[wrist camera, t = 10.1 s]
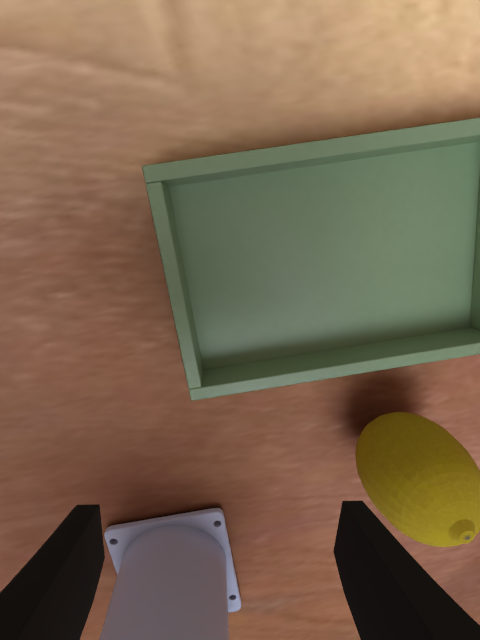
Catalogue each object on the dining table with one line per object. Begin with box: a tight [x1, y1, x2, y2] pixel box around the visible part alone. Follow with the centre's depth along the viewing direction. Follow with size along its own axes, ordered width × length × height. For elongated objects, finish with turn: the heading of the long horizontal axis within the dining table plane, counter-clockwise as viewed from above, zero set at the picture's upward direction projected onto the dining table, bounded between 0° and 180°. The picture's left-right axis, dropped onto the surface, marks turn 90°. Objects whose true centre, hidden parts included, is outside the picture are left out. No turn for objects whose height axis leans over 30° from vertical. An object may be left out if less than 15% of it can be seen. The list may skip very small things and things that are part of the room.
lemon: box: [356, 412, 480, 547], centre depth 18 cm, size 6×6×8 cm
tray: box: [142, 118, 480, 401], centre depth 17 cm, size 11×17×3 cm, turn 98°
